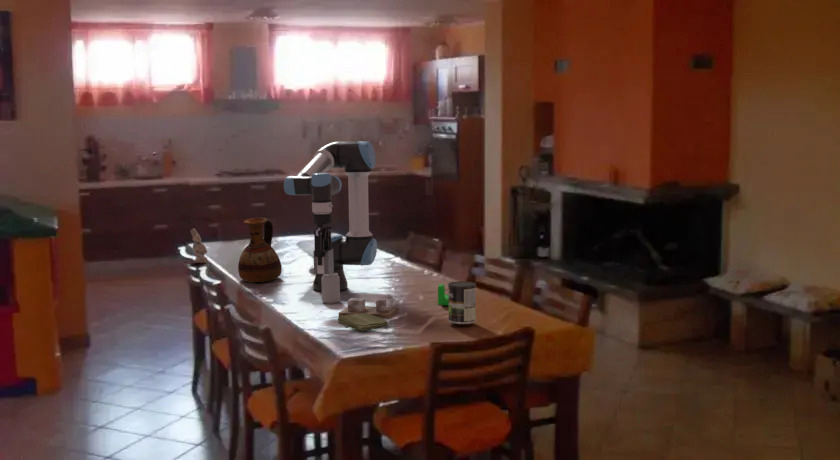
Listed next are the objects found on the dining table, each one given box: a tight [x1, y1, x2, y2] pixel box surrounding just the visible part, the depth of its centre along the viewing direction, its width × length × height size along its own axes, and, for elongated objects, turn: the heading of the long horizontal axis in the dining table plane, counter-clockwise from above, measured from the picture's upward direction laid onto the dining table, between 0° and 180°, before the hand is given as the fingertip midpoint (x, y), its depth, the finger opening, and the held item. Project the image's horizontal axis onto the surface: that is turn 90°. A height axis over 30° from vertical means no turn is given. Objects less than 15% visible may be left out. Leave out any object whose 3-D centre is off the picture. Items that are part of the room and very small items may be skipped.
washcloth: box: [337, 313, 389, 331], centre depth 345 cm, size 13×18×3 cm
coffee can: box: [447, 280, 477, 325], centre depth 347 cm, size 10×10×14 cm
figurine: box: [190, 228, 208, 264], centre depth 481 cm, size 9×8×20 cm
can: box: [321, 273, 341, 305], centre depth 386 cm, size 8×8×12 cm
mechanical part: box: [437, 283, 449, 306], centre depth 384 cm, size 12×6×8 cm, turn 171°
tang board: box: [338, 297, 400, 320], centre depth 362 cm, size 20×14×6 cm
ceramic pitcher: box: [237, 216, 283, 283], centre depth 436 cm, size 20×20×30 cm
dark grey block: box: [312, 249, 334, 275], centre depth 365 cm, size 6×6×9 cm
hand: (323, 271), depth 365 cm, fingers closed on dark grey block, 6 cm apart
